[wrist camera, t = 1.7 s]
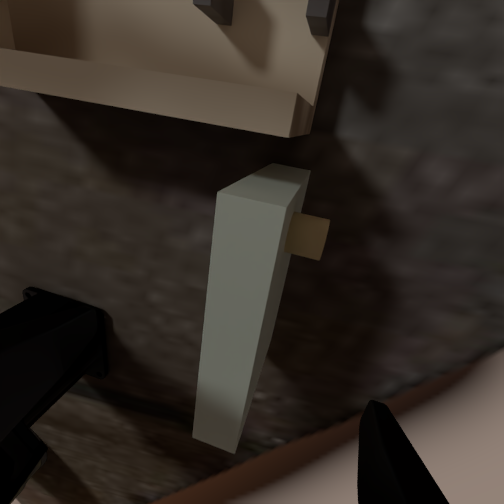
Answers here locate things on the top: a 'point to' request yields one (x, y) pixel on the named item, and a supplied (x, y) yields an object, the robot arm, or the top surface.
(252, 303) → the door
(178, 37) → the beige shallow square box
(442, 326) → the top surface
